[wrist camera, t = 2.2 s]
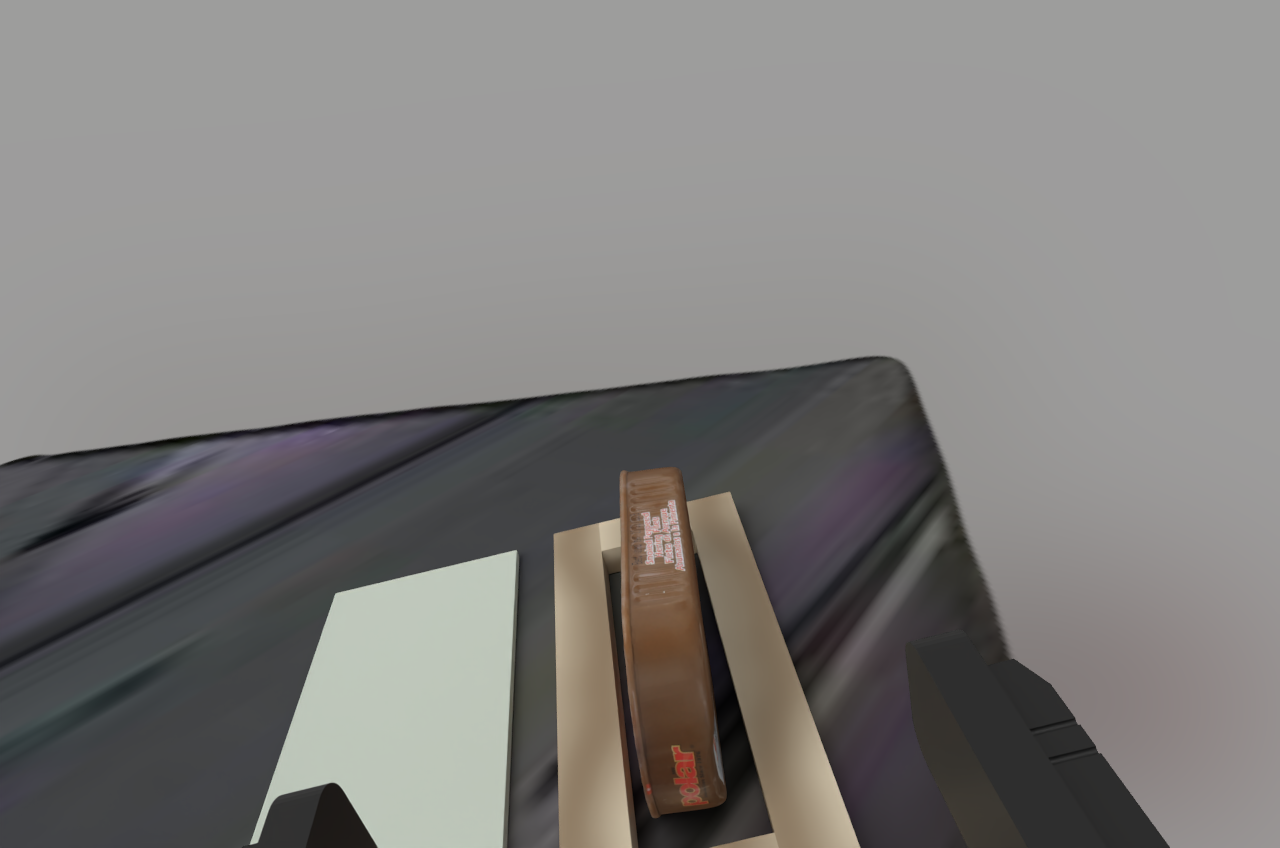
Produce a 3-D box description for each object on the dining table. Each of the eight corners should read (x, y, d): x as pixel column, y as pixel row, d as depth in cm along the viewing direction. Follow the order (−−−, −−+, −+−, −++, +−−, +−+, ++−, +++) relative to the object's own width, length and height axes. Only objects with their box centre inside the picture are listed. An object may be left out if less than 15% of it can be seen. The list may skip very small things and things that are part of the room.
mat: (182, 1072, 25) (174, 1064, 25) (339, 600, 45) (335, 593, 44) (500, 998, 25) (495, 989, 25) (519, 557, 44) (516, 549, 44)
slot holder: (574, 988, 25) (561, 961, 24) (561, 556, 44) (553, 534, 43) (878, 916, 25) (874, 887, 24) (734, 514, 44) (729, 491, 43)
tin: (644, 580, 41) (605, 436, 37) (707, 569, 40) (674, 422, 36) (660, 875, 28) (601, 699, 24) (753, 860, 27) (710, 680, 23)
